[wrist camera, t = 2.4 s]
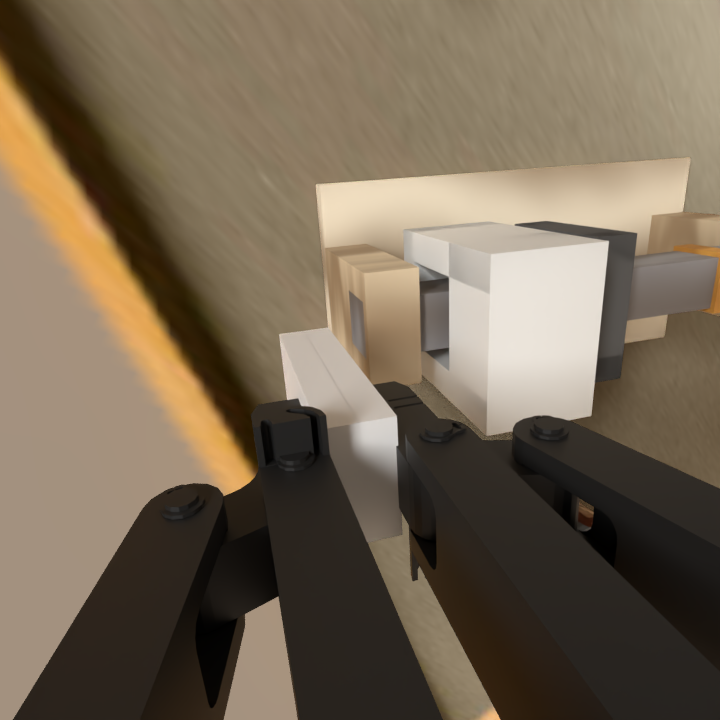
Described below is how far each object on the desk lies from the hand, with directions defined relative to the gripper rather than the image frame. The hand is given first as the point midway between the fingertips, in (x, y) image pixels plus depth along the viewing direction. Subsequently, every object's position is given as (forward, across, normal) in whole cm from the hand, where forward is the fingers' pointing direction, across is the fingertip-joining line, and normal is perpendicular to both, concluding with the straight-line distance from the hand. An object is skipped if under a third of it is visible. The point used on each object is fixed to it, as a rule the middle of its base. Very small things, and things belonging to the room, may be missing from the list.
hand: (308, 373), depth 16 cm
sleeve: (+7, +8, 0) cm, 10 cm away
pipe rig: (+10, +13, 0) cm, 16 cm away
